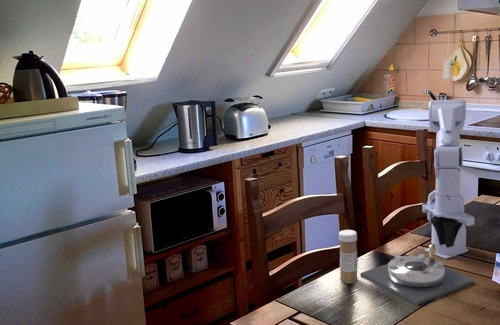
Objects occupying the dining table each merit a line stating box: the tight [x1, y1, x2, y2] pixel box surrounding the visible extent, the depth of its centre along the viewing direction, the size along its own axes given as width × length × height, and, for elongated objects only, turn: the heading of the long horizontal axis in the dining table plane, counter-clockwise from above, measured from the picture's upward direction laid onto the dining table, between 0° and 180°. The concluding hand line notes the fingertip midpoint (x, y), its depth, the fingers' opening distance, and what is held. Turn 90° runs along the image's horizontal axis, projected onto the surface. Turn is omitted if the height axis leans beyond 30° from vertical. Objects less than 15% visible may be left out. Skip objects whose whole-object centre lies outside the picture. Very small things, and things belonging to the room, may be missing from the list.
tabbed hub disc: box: [387, 243, 445, 287], centre depth 140 cm, size 14×14×7 cm
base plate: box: [359, 254, 475, 306], centre depth 141 cm, size 20×20×1 cm
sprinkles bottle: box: [338, 229, 358, 284], centre depth 141 cm, size 5×5×14 cm
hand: (446, 245), depth 138 cm, fingers closed
